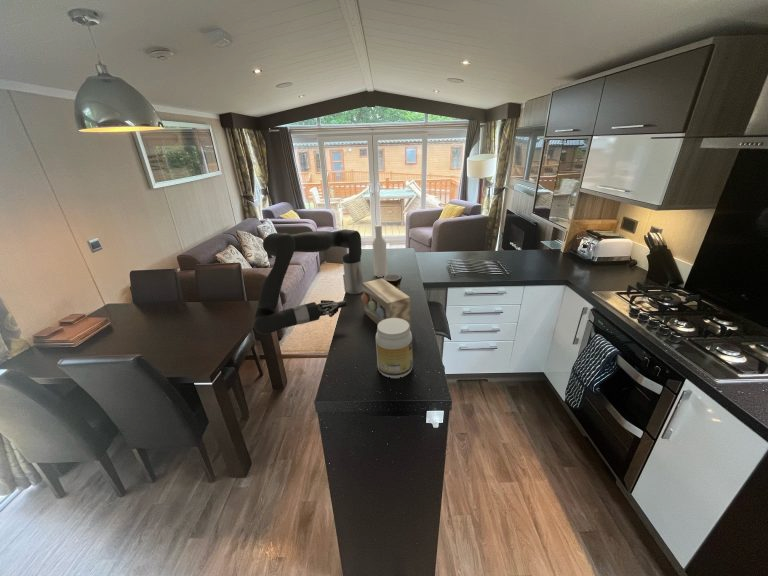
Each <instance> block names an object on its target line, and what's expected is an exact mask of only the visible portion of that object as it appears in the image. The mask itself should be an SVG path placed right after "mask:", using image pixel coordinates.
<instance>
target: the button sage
mask: <svg viewBox="0 0 768 576" xmlns="http://www.w3.org/2000/svg"><path fill="white" fill-rule="evenodd" d="M368 305H369V309H370V310H371V311H375V310H376V309H377V305H376V302H375V301H374V300H373V301H370V302H369V303H368Z"/></svg>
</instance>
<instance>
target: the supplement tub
mask: <svg viewBox="0 0 768 576" xmlns="http://www.w3.org/2000/svg"><path fill="white" fill-rule="evenodd" d="M375 346H376V347H375V349H376V363H377V369H378V371H379V373H381V375H382V376H384V377H387V378H389V377H390V379H401V378H404V377H406V376H407V375H408V374H410V373H411V372H412V369H413V367H414V365H413V364H414V361H413V357H414V356H413V333H412V331H411V327H410V328H409V323H408V322H407V321H405V320H403V319H400V318H388V319H385V320H382V321H381V322H379V324H378V325H377V329H376V333H375ZM400 377H401V378H400Z"/></svg>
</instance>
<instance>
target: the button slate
mask: <svg viewBox="0 0 768 576" xmlns="http://www.w3.org/2000/svg"><path fill="white" fill-rule="evenodd" d="M376 314H377V316H378V318H379V319H381V318H384V317H385V311H384V309H383V308H382V307H381V308H378V309H376Z"/></svg>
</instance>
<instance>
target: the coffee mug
mask: <svg viewBox="0 0 768 576" xmlns="http://www.w3.org/2000/svg"><path fill="white" fill-rule="evenodd" d="M383 279H384V280H386V281H387V282H388V283H390V284H391V285H393V286H394V287H396V288H397V289H399V290H400V291H401V282H402V279H403V278H402V275H399V274H395V273H392V274H391V273H390V274H387V275H386V276H384V277H383Z"/></svg>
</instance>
